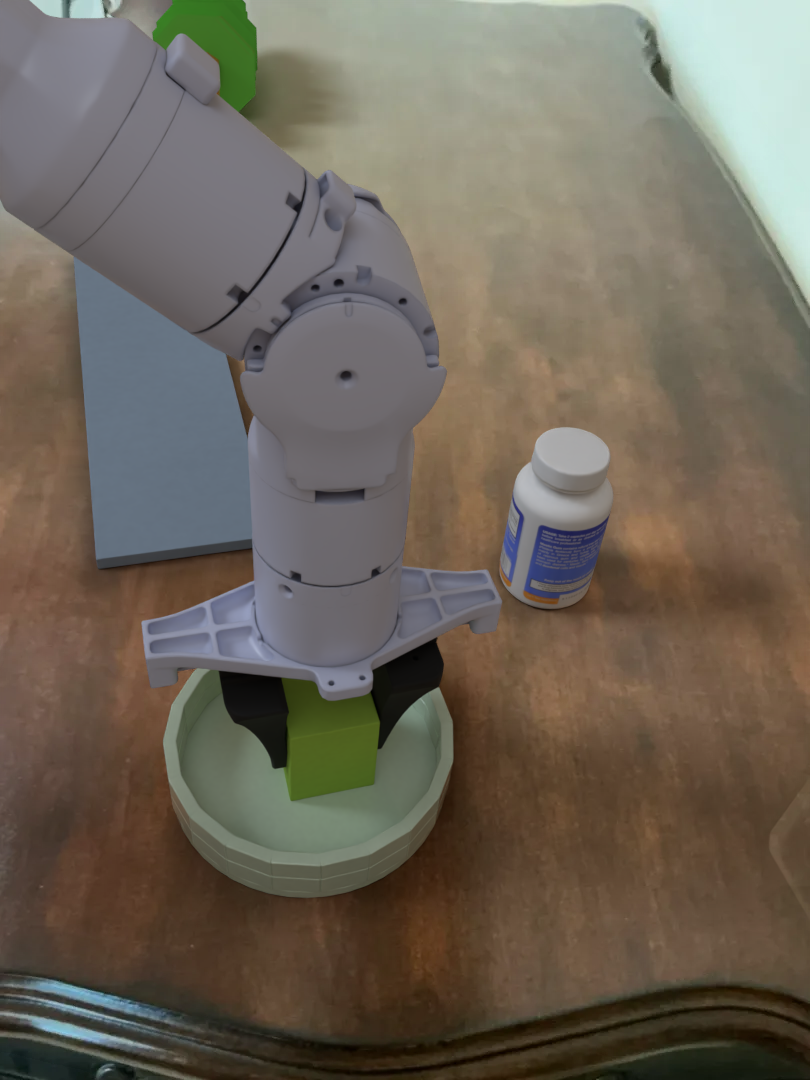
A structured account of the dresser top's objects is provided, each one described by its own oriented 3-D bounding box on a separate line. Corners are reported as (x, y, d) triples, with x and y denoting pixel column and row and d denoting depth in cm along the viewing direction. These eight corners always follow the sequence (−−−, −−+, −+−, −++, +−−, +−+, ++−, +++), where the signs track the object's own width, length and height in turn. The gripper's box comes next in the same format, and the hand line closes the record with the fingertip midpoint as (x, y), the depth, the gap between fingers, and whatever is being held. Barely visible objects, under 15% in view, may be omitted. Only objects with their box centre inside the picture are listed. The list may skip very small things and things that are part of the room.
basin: (116, 836, 44) (106, 801, 41) (246, 630, 53) (244, 592, 51) (392, 943, 41) (397, 910, 39) (479, 706, 50) (486, 670, 48)
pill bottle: (606, 580, 58) (647, 452, 51) (552, 627, 55) (587, 498, 48) (534, 533, 60) (563, 405, 53) (478, 576, 57) (502, 446, 50)
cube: (290, 802, 45) (289, 739, 41) (275, 731, 47) (273, 667, 44) (374, 785, 46) (380, 722, 42) (354, 716, 48) (359, 652, 45)
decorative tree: (159, 14, 88) (182, -81, 109) (125, 128, 95) (152, 18, 116) (277, 69, 92) (278, -33, 113) (235, 174, 99) (243, 61, 120)
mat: (273, 545, 58) (272, 535, 57) (98, 569, 55) (96, 559, 55) (198, 252, 82) (197, 243, 81) (74, 259, 80) (73, 250, 79)
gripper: (137, 644, 32) (175, 850, 41) (548, 580, 35) (496, 783, 45) (123, 502, 37) (159, 716, 46) (485, 458, 40) (450, 665, 49)
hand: (323, 741), depth 46 cm, fingers closed on cube, 4 cm apart
